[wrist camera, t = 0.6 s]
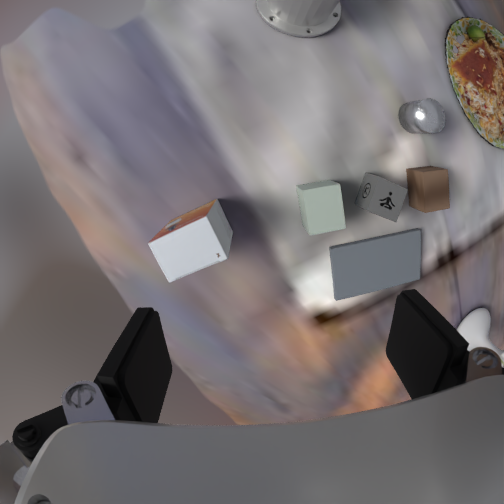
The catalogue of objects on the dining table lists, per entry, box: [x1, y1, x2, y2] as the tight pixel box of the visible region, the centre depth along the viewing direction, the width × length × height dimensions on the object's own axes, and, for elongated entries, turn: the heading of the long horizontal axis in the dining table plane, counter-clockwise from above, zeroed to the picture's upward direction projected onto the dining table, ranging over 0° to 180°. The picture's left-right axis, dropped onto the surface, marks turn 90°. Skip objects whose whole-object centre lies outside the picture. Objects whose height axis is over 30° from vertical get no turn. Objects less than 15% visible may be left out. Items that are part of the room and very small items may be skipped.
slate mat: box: [329, 228, 421, 301], centre depth 44 cm, size 9×16×1 cm, turn 102°
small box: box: [148, 199, 233, 283], centre depth 37 cm, size 8×6×10 cm
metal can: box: [398, 99, 446, 133], centre depth 33 cm, size 5×5×6 cm
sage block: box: [296, 180, 346, 236], centre depth 39 cm, size 6×5×5 cm
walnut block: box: [406, 166, 450, 213], centre depth 38 cm, size 6×5×5 cm
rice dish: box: [445, 17, 504, 149], centre depth 30 cm, size 28×28×5 cm
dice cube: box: [355, 173, 408, 222], centre depth 38 cm, size 5×5×5 cm
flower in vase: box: [457, 308, 504, 366], centre depth 39 cm, size 13×11×25 cm
